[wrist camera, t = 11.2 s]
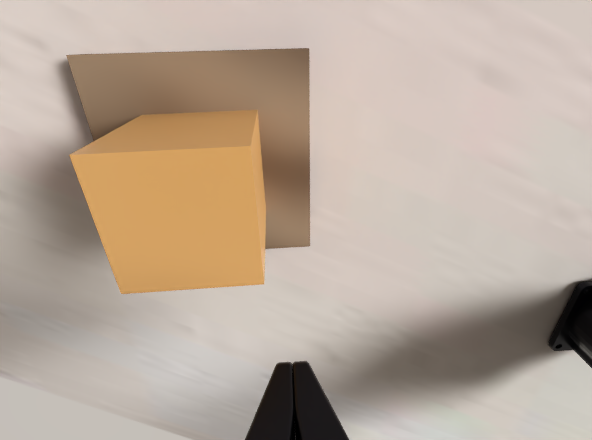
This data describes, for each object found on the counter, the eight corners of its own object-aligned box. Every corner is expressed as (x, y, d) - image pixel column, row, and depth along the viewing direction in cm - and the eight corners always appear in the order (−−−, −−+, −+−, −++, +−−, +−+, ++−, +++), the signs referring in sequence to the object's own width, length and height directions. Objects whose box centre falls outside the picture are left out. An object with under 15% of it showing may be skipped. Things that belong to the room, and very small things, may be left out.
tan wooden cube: (266, 211, 17) (264, 284, 12) (167, 217, 17) (121, 294, 12) (257, 109, 15) (250, 146, 10) (141, 114, 15) (69, 154, 9)
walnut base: (308, 237, 19) (309, 246, 19) (137, 246, 19) (131, 256, 18) (306, 48, 15) (309, 48, 14) (78, 54, 14) (66, 55, 13)
